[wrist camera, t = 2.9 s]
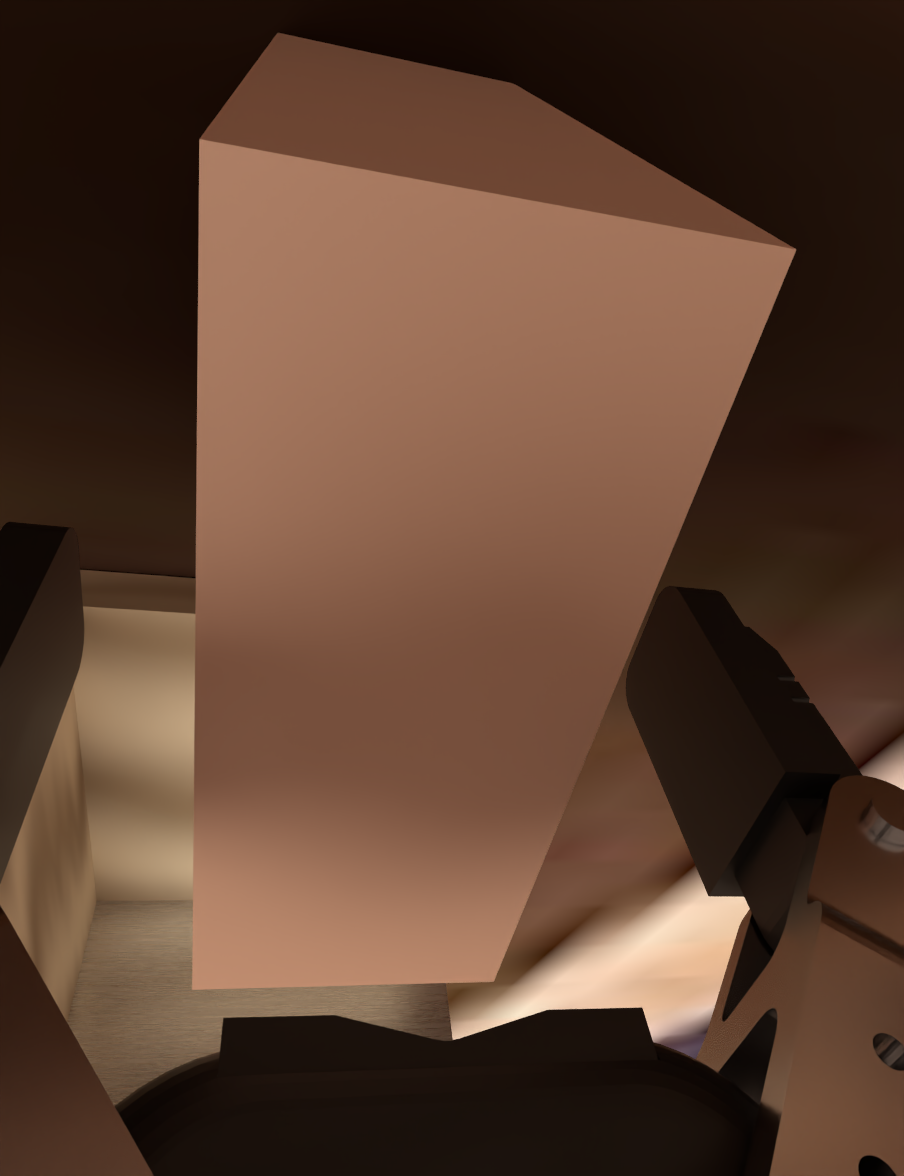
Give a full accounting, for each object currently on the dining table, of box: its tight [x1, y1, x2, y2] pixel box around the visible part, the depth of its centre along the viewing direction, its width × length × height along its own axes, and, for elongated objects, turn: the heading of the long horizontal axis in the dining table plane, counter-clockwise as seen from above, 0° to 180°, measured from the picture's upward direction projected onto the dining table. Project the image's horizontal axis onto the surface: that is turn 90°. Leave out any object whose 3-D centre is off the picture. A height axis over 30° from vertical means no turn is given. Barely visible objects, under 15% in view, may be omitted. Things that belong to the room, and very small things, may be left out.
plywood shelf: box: [0, 570, 196, 1021], centre depth 21 cm, size 14×13×14 cm
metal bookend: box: [67, 900, 453, 1106], centre depth 24 cm, size 2×12×11 cm, turn 79°
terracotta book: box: [192, 33, 796, 990], centre depth 14 cm, size 11×4×12 cm, turn 169°
